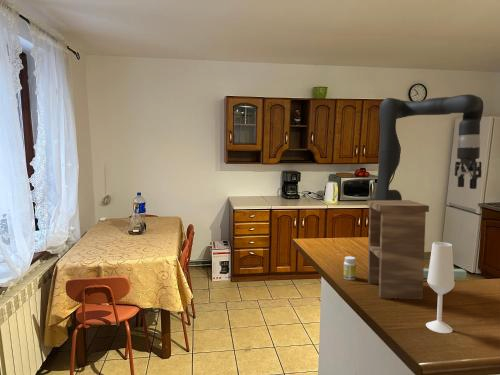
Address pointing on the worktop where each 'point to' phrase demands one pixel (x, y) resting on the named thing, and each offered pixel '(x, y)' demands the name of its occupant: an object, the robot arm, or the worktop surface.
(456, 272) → the capped bar
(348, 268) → the supplement bottle
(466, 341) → the worktop surface
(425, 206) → the walnut shelf
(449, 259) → the champagne flute
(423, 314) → the worktop surface
